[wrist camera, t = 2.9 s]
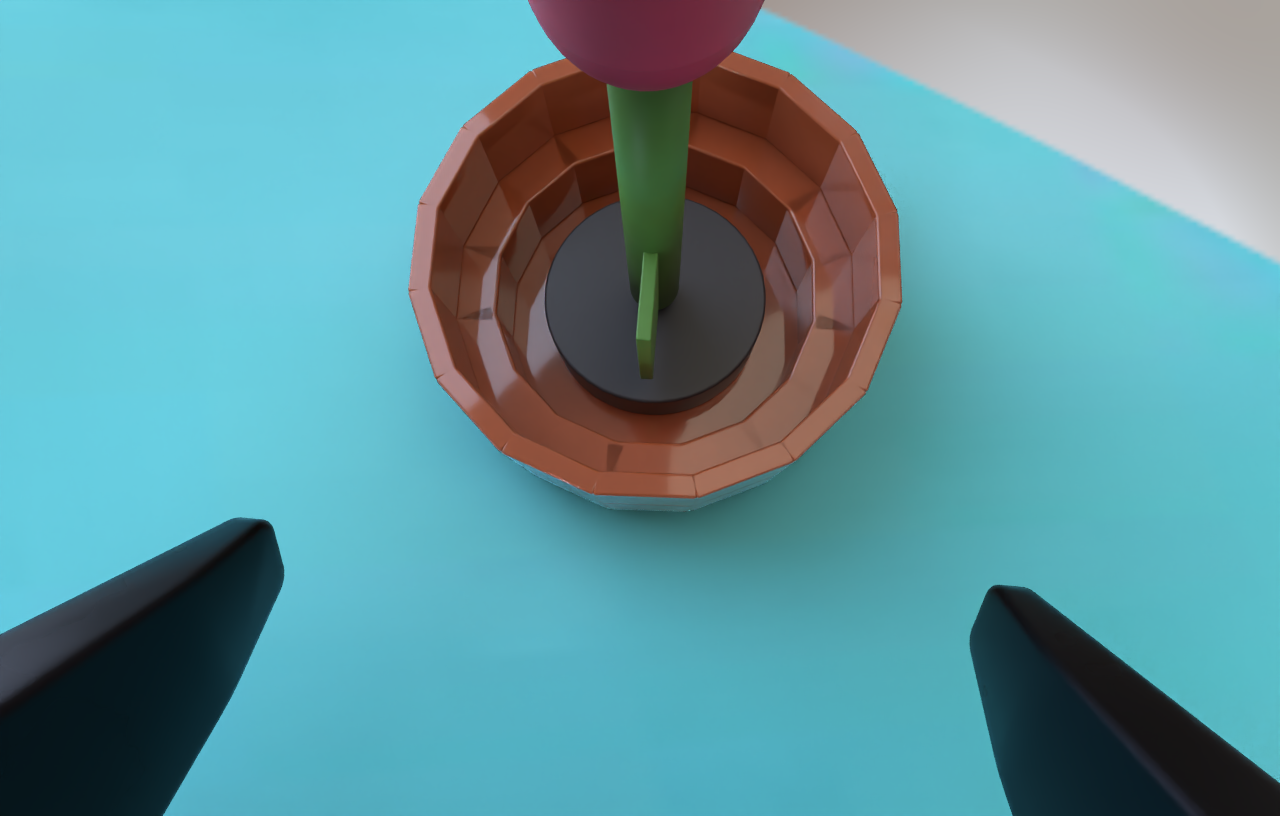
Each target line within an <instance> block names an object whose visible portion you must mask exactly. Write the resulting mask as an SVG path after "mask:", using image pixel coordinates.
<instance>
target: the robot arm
mask: <svg viewBox="0 0 1280 816" xmlns="http://www.w3.org/2000/svg"><path fill="white" fill-rule="evenodd" d="M283 580H284V566H283V562H282V559H281V555H280V551H279V547H278V544H277V540H276V536H275V532H274V529H273V526H272V525H271V524H270V523H269V522H268V521H266V520H263V519H251V518H233V519H231V520H228V521H226V522H224V523H222V524H220V525H218V526H216V527H214V528H212V529H210V530H208V531H206V532H204V533H202V534H200V535H198V536H196V537H194V538H192V539H190V540H188V541H186V542H184V543H182V544H180V545H178V546H176V547H174V548H172V549H170V550H168V551H166V552H164V553H162V554H160V555H158V556H156V557H154V558H152V559H150V560H148V561H146V562H144V563H142V564H140V565H138V566H136V567H134V568H132V569H130V570H128V571H126V572H124V573H122V574H120V575H118V576H116V577H114V578H112V579H110V580H108V581H106V582H104V583H102V584H100V585H98V586H96V587H94V588H92V589H90V590H88V591H86V592H84V593H82V594H80V595H78V596H76V597H74V598H72V599H70V600H68V601H66V602H64V603H62V604H60V605H58V606H56V607H54V608H52V609H50V610H48V611H46V612H44V613H42V614H40V615H38V616H36V617H34V618H32V619H30V620H28V621H26V622H24V623H22V624H20V625H18V626H16V627H14V628H12V629H10V630H8V631H6V632H4V633H2V634H0V816H163V814H164V813H165V811H166V809H167V808H168V806H169V804H170V802H171V801H172V799H173V797H174V796H175V794H176V792H177V790H178V789H179V787H180V785H181V783H182V782H183V780H184V778H185V777H186V775H187V773H188V771H189V770H190V768H191V766H192V765H193V763H194V761H195V759H196V758H197V756H198V754H199V753H200V751H201V749H202V747H203V746H204V744H205V742H206V741H207V739H208V737H209V735H210V734H211V732H212V730H213V728H214V727H215V725H216V723H217V722H218V720H219V718H220V716H221V715H222V713H223V711H224V709H225V707H226V706H227V704H228V702H229V700H230V698H231V697H232V694H233V692H234V690H235V688H236V686H237V684H238V682H239V680H240V678H241V676H242V674H243V671H244V669H245V667H246V665H247V663H248V660H249V658H250V656H251V654H252V652H253V649H254V647H255V645H256V643H257V641H258V638H259V636H260V634H261V632H262V630H263V627H264V625H265V623H266V621H267V618H268V616H269V614H270V612H271V610H272V607H273V605H274V603H275V601H276V599H277V596H278V594H279V592H280V590H281V587H282V584H283ZM970 651H971V656H972V661H973V665H974V669H975V674H976V678H977V683H978V687H979V691H980V696H981V700H982V705H983V709H984V713H985V718H986V722H987V727H988V731H989V735H990V740H991V744H992V749H993V753H994V757H995V761H996V765H997V768H998V772H999V776H1000V779H1001V782H1002V785H1003V788H1004V791H1005V795H1006V797H1007V800H1008V803H1009V806H1010V809H1011V812H1012V815H1013V816H1280V783H1279V782H1278V781H1276V780H1275V779H1274V778H1272V777H1271V776H1270V775H1269V774H1267V773H1266V772H1265V771H1263V770H1262V769H1261V768H1260V767H1258V766H1257V765H1256V764H1254V763H1253V762H1252V761H1251V760H1249V759H1248V758H1247V757H1245V756H1244V755H1243V754H1242V753H1240V752H1239V751H1238V750H1236V749H1235V748H1234V747H1233V746H1231V745H1230V744H1229V743H1227V742H1226V741H1225V740H1224V739H1222V738H1221V737H1220V736H1218V735H1217V734H1216V733H1215V732H1213V731H1212V730H1211V729H1209V728H1208V727H1207V726H1206V725H1204V724H1203V723H1202V722H1201V721H1199V720H1198V719H1197V718H1195V717H1194V716H1193V715H1192V714H1190V713H1189V712H1188V711H1186V710H1185V709H1184V708H1183V707H1181V706H1180V705H1179V704H1177V703H1176V702H1175V701H1174V700H1172V699H1171V698H1170V697H1168V696H1167V695H1166V694H1165V693H1163V692H1162V691H1161V690H1159V689H1158V688H1157V687H1156V686H1154V685H1153V684H1152V683H1150V682H1149V681H1148V680H1147V679H1145V678H1144V677H1143V676H1141V675H1140V674H1139V673H1138V672H1136V671H1135V670H1134V669H1132V668H1131V667H1130V666H1129V665H1127V664H1126V663H1125V662H1123V661H1122V660H1121V659H1120V658H1118V657H1117V656H1116V655H1114V654H1113V653H1112V652H1111V651H1109V650H1108V649H1107V648H1105V647H1104V646H1103V645H1102V644H1100V643H1099V642H1098V641H1096V640H1095V639H1094V638H1093V637H1091V636H1090V635H1089V634H1087V633H1086V632H1085V631H1084V630H1082V629H1081V628H1080V627H1078V626H1077V625H1076V624H1075V623H1073V622H1072V621H1071V620H1069V619H1068V618H1067V617H1066V616H1064V615H1063V614H1062V613H1060V612H1059V611H1058V610H1057V609H1055V608H1054V607H1053V606H1051V605H1050V604H1049V603H1048V602H1046V601H1045V600H1044V599H1042V598H1041V597H1040V596H1039V595H1037V594H1036V593H1035V592H1033V591H1032V590H1030V589H1028V588H1025V587H1018V586H1007V585H995V586H992V587H991V588H990V589H989V590H988V591H987V593H986V595H985V598H984V600H983V603H982V605H981V608H980V610H979V613H978V615H977V617H976V620H975V622H974V625H973V627H972V630H971V634H970Z"/></svg>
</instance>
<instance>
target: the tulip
mask: <svg viewBox="0 0 1280 816" xmlns="http://www.w3.org/2000/svg"><path fill="white" fill-rule="evenodd" d="M528 1H529V4H530V6H531V8H532V11H533V12H534V14H535V16H536V18H537V20H538V22H539V24H540V25H541V27H542V28H543V30H544V32H545V33H546V35H547V36H548V38H549V39H550V40H551V41H552V43H553V44H554V45H555V46H556V48H557V49H558V50H559V51H560V52H561V53H562V55H564V56H565V57H566V58H567V59H568V60H569V61H570V62H571V63H572V64H574V65H575V66H576V67H577V68H579V69H580V70H582V71H583V72H585V73H586V74H587V75H589V76H591V77H593V78H595V79H597V80H599V81H601V82H604V83H606V84H607V91H608V100H609V109H610V117H611V126H612V135H613V144H614V153H615V161H616V170H617V179H618V188H619V197H620V201H617V202H614V203H612V204H609V205H607V206H605V207H603V208H601V209H599V210H597V211H596V212H594V213H593V214H591V215H590V216H588V217H587V218H586V219H584V220H583V221H582V222H581V223H580V224H579V225H578V226H576V227H575V228H574V229H573V231H572V232H571V233H570V234H569V235H568V236H567V238H566V239H565V240H564V242H563V243H562V245H561V246H560V248H559V249H558V251H557V253H556V255H555V257H554V259H553V261H552V263H551V267H550V270H549V273H548V276H547V281H546V286H545V301H544V303H545V314H546V319H547V324H548V328H549V331H550V334H551V336H552V339H553V341H554V344H555V346H556V348H557V350H558V352H559V354H560V356H561V358H562V360H563V361H564V363H565V365H566V367H567V369H568V370H569V371H570V373H571V374H572V375H573V377H574V378H575V379H576V380H577V381H578V382H579V383H580V384H581V385H582V386H583V387H584V388H585V389H586V390H587V391H588V392H590V393H591V394H592V395H594V396H595V397H596V398H598V399H600V400H602V401H603V402H605V403H607V404H609V405H611V406H614V407H616V408H619V409H622V410H625V411H629V412H633V413H639V414H646V415H663V414H671V413H677V412H681V411H685V410H689V409H691V408H694V407H696V406H699V405H701V404H703V403H705V402H707V401H708V400H710V399H712V398H714V397H715V396H716V395H718V394H719V393H720V392H722V391H723V390H724V389H725V388H726V387H727V386H728V385H729V384H730V383H732V382H733V381H734V379H735V378H736V377H737V376H738V374H739V373H740V372H741V370H742V369H743V367H744V366H745V364H746V362H747V360H748V359H749V357H750V354H751V352H752V350H753V347H754V345H755V343H756V340H757V338H758V336H759V333H760V331H761V327H762V323H763V319H764V314H765V305H766V292H765V284H764V278H763V274H762V270H761V267H760V264H759V262H758V259H757V257H756V255H755V253H754V251H753V249H752V248H751V246H750V245H749V243H748V241H747V240H746V239H745V237H744V236H743V235H742V234H741V233H740V231H739V230H738V229H737V228H736V227H735V226H734V225H733V224H731V223H730V222H729V221H728V220H727V219H726V218H724V217H723V216H721V215H720V214H719V213H717V212H716V211H714V210H712V209H710V208H708V207H706V206H705V205H702V204H700V203H697V202H694V201H692V200H689V199H685V189H686V174H687V159H688V144H689V129H690V114H691V98H692V83H693V80H695V79H697V78H699V77H701V76H703V75H705V74H706V73H708V72H709V71H711V70H712V69H714V68H715V67H716V66H717V65H719V64H720V63H721V62H722V61H723V60H724V59H725V58H726V57H727V56H729V55H730V54H731V53H732V52H733V51H734V49H735V48H736V47H737V46H738V45H739V44H740V42H741V41H742V40H743V38H744V37H745V35H746V34H747V32H748V31H749V29H750V28H751V26H752V25H753V23H754V21H755V19H756V17H757V15H758V13H759V10H760V9H761V7H762V4H763V2H764V0H528Z"/></svg>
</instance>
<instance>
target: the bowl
mask: <svg viewBox="0 0 1280 816" xmlns="http://www.w3.org/2000/svg"><path fill="white" fill-rule="evenodd" d="M685 199H689V200H692V201H694V202H697V203H700V204H702V205H705V206H706V207H708V208H710V209H712V210H714V211H716V212H717V213H719V214H720V215H721V216H723V217H724V218H726V219H727V220H728V221H729V222H730V223H731V224H733V225H734V226H735V227H736V228H737V229H738V230H739V231H740V233H741V234H742V235H743V236H744V237H745V239H746V240H747V241H748V243H749V245H750V246H751V248H752V249H753V251H754V253H755V255H756V257H757V259H758V262H759V264H760V267H761V270H762V274H763V278H764V284H765V292H766V305H765V314H764V319H763V323H762V327H761V331H760V333H759V336H758V338H757V340H756V343H755V345H754V347H753V350H752V352H751V354H750V357H749V359H748V360H747V362H746V364H745V366H744V367H743V369H742V370H741V372H740V373H739V374H738V376H737V377H736V378H735V379H734V381H733V382H732V383H730V384H729V385H728V386H727V387H726V388H725V389H724V390H723V391H722V392H720V393H719V394H718V395H716V396H715V397H714V398H712V399H710V400H708V401H707V402H705V403H703V404H701V405H699V406H696V407H694V408H691V409H689V410H685V411H681V412H677V413H671V414H663V415H646V414H639V413H633V412H629V411H625V410H622V409H619V408H616V407H614V406H611V405H609V404H607V403H605V402H603V401H602V400H600V399H598V398H596V397H595V396H594V395H592V394H591V393H590V392H588V391H587V390H586V389H585V388H584V387H583V386H582V385H581V384H580V383H579V382H578V381H577V380H576V379H575V378H574V377H573V375H572V374H571V373H570V371H569V370H568V369H567V367H566V365H565V363H564V361H563V360H562V358H561V356H560V354H559V352H558V350H557V348H556V346H555V344H554V341H553V339H552V336H551V334H550V331H549V328H548V324H547V319H546V314H545V303H544V301H545V286H546V281H547V276H548V273H549V270H550V267H551V263H552V261H553V259H554V257H555V255H556V253H557V251H558V249H559V248H560V246H561V245H562V243H563V242H564V240H565V239H566V238H567V236H568V235H569V234H570V233H571V232H572V231H573V229H574V228H575V227H576V226H578V225H579V224H580V223H581V222H582V221H583V220H584V219H586V218H587V217H588V216H590V215H591V214H593V213H594V212H596V211H597V210H599V209H601V208H603V207H605V206H607V205H609V204H612V203H614V202H617V201H620V197H619V188H618V179H617V170H616V161H615V153H614V144H613V135H612V126H611V117H610V109H609V100H608V91H607V84H606V83H604V82H601V81H599V80H597V79H595V78H593V77H591V76H589V75H587V74H586V73H585V72H583V71H582V70H580V69H579V68H577V67H576V66H575V65H574V64H572V63H571V62H570V61H569V60H568V59H567V58H565V59H562V60H559V61H556V62H553V63H550V64H547V65H544V66H541V67H539V68H536V69H533V70H532V71H529V72H528V73H527V74H526V75H524V76H523V77H522V78H521V79H519V80H518V81H517V82H516V83H514V84H513V85H512V86H511V87H510V88H508V89H507V90H506V91H505V92H503V93H502V94H501V95H500V96H498V97H497V98H496V99H495V100H493V101H492V102H491V103H490V104H489V105H487V106H486V107H485V108H484V109H482V110H481V111H480V112H479V113H477V114H476V115H475V116H474V117H472V118H471V119H470V120H469V121H468V122H466V123H465V124H464V125H463V127H461V128H460V130H459V132H458V134H457V136H456V137H455V139H454V141H453V143H452V144H451V146H450V148H449V150H448V151H447V153H446V155H445V157H444V158H443V160H442V162H441V164H440V165H439V167H438V169H437V171H436V172H435V174H434V176H433V178H432V180H431V181H430V183H429V185H428V187H427V188H426V190H425V192H424V194H423V195H422V197H421V199H420V201H419V204H418V210H417V219H416V227H415V236H414V245H413V253H412V262H411V271H410V279H409V288H408V290H409V297H410V300H411V304H412V307H413V310H414V313H415V316H416V319H417V323H418V326H419V329H420V332H421V335H422V338H423V342H424V345H425V348H426V351H427V354H428V357H429V361H430V364H431V367H432V370H433V373H434V376H435V378H436V379H437V382H438V383H439V385H440V386H441V387H442V388H443V389H444V390H445V391H446V392H447V394H448V395H449V396H450V397H451V398H452V399H453V400H454V401H455V403H456V404H457V405H458V406H459V407H460V408H461V409H462V410H463V412H464V413H465V414H466V415H467V416H468V417H469V418H470V419H471V420H472V422H473V423H474V424H475V425H476V426H477V427H478V428H479V429H480V431H481V432H482V433H483V434H484V435H485V436H486V437H487V438H488V440H489V441H490V442H491V443H492V444H493V445H494V446H495V447H496V449H497V450H498V451H500V452H501V453H503V454H504V455H505V456H507V457H508V458H510V459H511V460H513V461H514V462H516V463H517V464H519V465H520V466H522V467H523V468H525V469H526V470H528V471H529V472H531V473H532V474H534V475H535V476H537V477H539V478H541V479H543V480H545V481H548V482H550V483H552V484H554V485H556V486H558V487H560V488H563V489H565V490H567V491H569V492H571V493H573V494H576V495H578V496H580V497H582V498H584V499H586V500H589V501H591V502H593V503H595V504H597V505H599V506H602V507H604V508H609V509H619V510H647V511H675V512H687V511H689V510H690V511H694V510H696V509H699V508H702V507H704V506H707V505H710V504H712V503H715V502H717V501H720V500H723V499H725V498H728V497H731V496H733V495H736V494H739V493H741V492H744V491H747V490H749V489H752V488H755V487H757V486H760V485H762V484H764V483H766V482H767V481H769V480H770V479H772V478H773V477H774V476H776V475H777V474H779V473H780V472H782V471H783V470H784V469H786V468H787V467H788V466H790V465H791V464H793V463H794V462H795V461H797V460H798V459H799V458H800V457H801V456H802V455H803V454H804V453H805V452H806V451H807V450H808V449H809V448H810V447H811V446H812V445H813V444H814V443H815V442H816V441H817V440H818V439H819V438H821V437H822V436H823V435H824V434H825V433H826V432H827V431H828V430H829V429H830V428H831V427H832V426H833V425H834V424H835V423H836V422H837V421H838V420H839V419H840V418H841V417H842V416H843V415H844V414H845V413H846V412H848V411H849V410H850V409H851V408H852V407H853V406H854V405H855V404H856V403H857V402H858V401H859V400H860V399H861V398H862V397H863V396H864V395H865V394H866V392H867V391H868V389H869V386H870V384H871V381H872V379H873V376H874V374H875V371H876V369H877V366H878V364H879V361H880V359H881V356H882V354H883V351H884V349H885V346H886V344H887V341H888V339H889V336H890V334H891V332H892V329H893V327H894V324H895V322H896V319H897V317H898V314H899V312H900V309H901V304H902V285H901V263H900V241H899V219H898V213H897V209H896V207H895V205H894V203H893V201H892V199H891V197H890V195H889V193H888V191H887V189H886V187H885V185H884V183H883V181H882V179H881V177H880V175H879V173H878V171H877V169H876V167H875V165H874V163H873V161H872V159H871V157H870V155H869V153H868V151H867V149H866V147H865V145H864V143H863V141H862V139H861V137H860V135H859V134H858V133H857V131H856V130H855V129H854V128H853V127H852V126H851V125H849V124H848V123H847V122H846V121H845V120H844V119H842V118H841V117H840V116H839V115H838V114H837V113H836V112H834V111H833V110H832V109H831V108H830V107H829V106H828V105H826V104H825V103H824V102H823V101H822V100H821V99H820V98H818V97H817V96H816V95H815V94H814V93H813V92H812V91H810V90H809V89H808V88H807V87H806V86H805V85H804V84H802V83H801V82H800V81H799V80H798V79H797V78H796V77H794V76H793V75H792V74H790V73H789V72H786V71H783V70H781V69H778V68H775V67H773V66H770V65H767V64H765V63H762V62H759V61H757V60H754V59H751V58H748V57H746V56H743V55H740V54H738V53H735V52H732V53H731V54H730V55H729V56H727V57H726V58H725V59H724V60H723V61H722V62H721V63H720V64H719V65H717V66H716V67H715V68H714V69H712V70H711V71H709V72H708V73H706V74H705V75H703V76H701V77H699V78H697V79H695V80H693V83H692V98H691V114H690V129H689V144H688V159H687V174H686V189H685Z"/></svg>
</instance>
